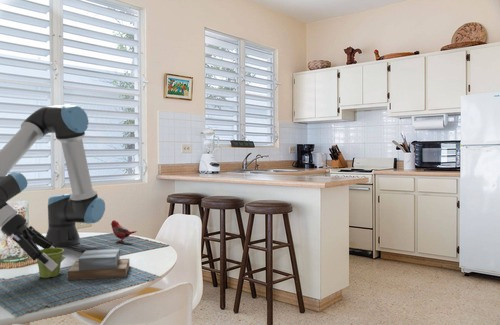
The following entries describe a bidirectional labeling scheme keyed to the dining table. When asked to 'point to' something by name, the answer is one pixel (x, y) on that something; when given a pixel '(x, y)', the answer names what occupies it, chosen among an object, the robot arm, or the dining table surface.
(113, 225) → the decorative bird figurine
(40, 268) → the plant pot
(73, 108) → the robot arm
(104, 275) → the brick stand
